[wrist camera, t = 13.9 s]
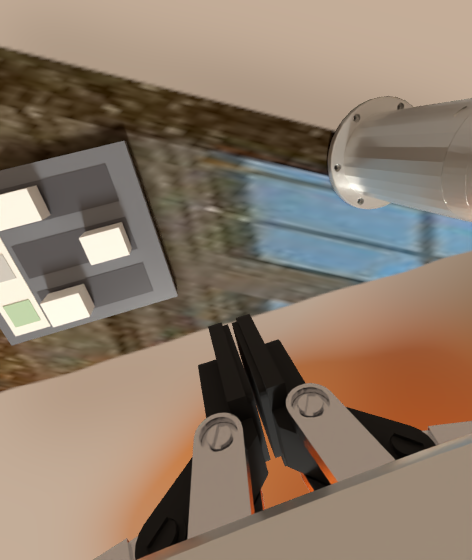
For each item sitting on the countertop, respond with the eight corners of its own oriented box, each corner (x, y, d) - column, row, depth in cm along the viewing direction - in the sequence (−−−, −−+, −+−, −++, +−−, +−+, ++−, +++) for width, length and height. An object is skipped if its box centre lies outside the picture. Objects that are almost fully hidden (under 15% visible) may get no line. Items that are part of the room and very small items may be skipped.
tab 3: (121, 222, 34) (118, 227, 31) (131, 247, 35) (129, 254, 33) (84, 231, 33) (78, 238, 31) (95, 257, 34) (91, 265, 32)
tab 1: (36, 185, 31) (26, 188, 28) (50, 215, 32) (42, 220, 30) (-6, 195, 30) (-20, 199, 28) (10, 225, 31) (-2, 231, 29)
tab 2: (83, 283, 35) (78, 293, 33) (94, 306, 37) (90, 316, 34) (47, 293, 35) (39, 303, 33) (60, 316, 36) (53, 327, 34)
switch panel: (125, 140, 32) (124, 140, 31) (177, 291, 40) (177, 296, 39) (-79, 190, 30) (-91, 192, 29) (17, 338, 38) (10, 346, 36)
